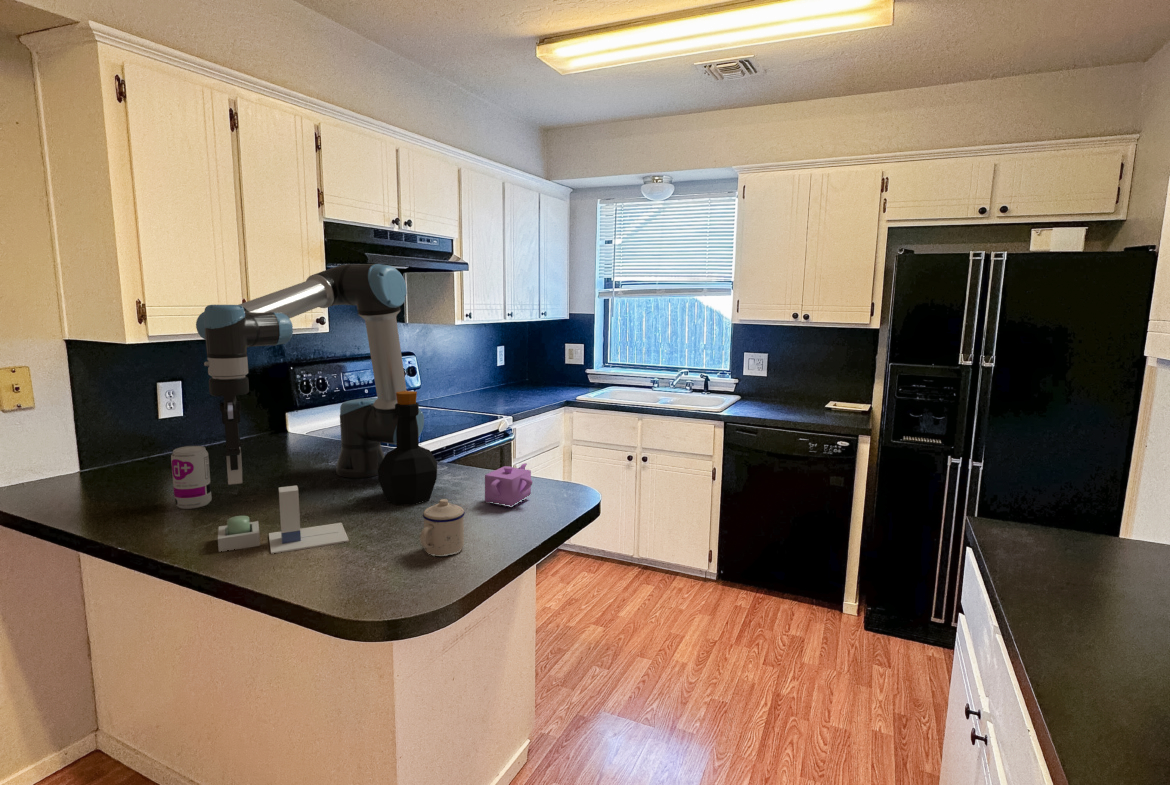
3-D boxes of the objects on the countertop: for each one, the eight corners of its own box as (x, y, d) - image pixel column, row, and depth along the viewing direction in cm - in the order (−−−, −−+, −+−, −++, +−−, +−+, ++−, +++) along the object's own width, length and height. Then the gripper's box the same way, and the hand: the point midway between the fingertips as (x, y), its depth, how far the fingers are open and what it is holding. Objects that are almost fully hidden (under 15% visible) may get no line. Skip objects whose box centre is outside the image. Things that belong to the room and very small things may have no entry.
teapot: (507, 489, 184) (507, 456, 182) (548, 496, 178) (549, 462, 176) (471, 507, 168) (471, 471, 166) (515, 516, 162) (516, 479, 160)
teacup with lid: (441, 538, 146) (440, 491, 145) (472, 546, 143) (472, 497, 141) (405, 557, 136) (404, 506, 134) (438, 566, 132) (438, 514, 130)
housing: (259, 533, 147) (258, 521, 146) (260, 545, 140) (259, 532, 139) (219, 538, 143) (218, 526, 143) (218, 551, 136) (217, 538, 136)
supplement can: (194, 511, 160) (190, 454, 157) (167, 508, 161) (162, 451, 159) (219, 500, 168) (215, 446, 165) (192, 498, 169) (188, 444, 167)
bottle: (446, 502, 171) (445, 394, 166) (385, 511, 163) (382, 398, 158) (429, 486, 185) (427, 386, 180) (372, 494, 176) (368, 389, 171)
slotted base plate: (341, 524, 154) (341, 522, 154) (348, 541, 143) (348, 539, 143) (268, 534, 146) (268, 533, 146) (271, 554, 136) (271, 552, 136)
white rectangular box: (299, 534, 145) (296, 485, 143) (300, 540, 142) (298, 490, 140) (281, 537, 144) (278, 487, 142) (282, 543, 140) (279, 492, 138)
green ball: (250, 530, 144) (249, 514, 144) (250, 536, 140) (249, 520, 140) (228, 533, 142) (227, 517, 141) (227, 540, 138) (226, 523, 138)
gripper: (210, 371, 141) (217, 470, 145) (206, 383, 126) (214, 494, 129) (247, 370, 145) (253, 467, 149) (248, 381, 129) (255, 489, 133)
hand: (235, 479), depth 139 cm, fingers open, 5 cm apart
